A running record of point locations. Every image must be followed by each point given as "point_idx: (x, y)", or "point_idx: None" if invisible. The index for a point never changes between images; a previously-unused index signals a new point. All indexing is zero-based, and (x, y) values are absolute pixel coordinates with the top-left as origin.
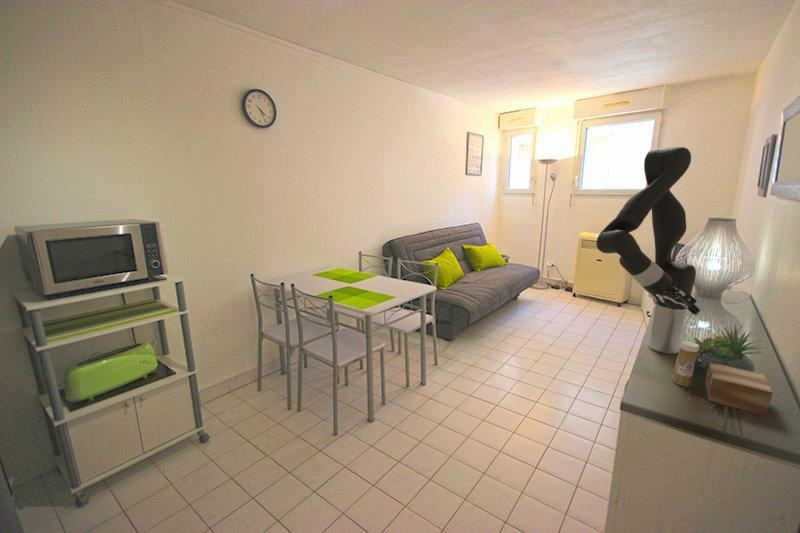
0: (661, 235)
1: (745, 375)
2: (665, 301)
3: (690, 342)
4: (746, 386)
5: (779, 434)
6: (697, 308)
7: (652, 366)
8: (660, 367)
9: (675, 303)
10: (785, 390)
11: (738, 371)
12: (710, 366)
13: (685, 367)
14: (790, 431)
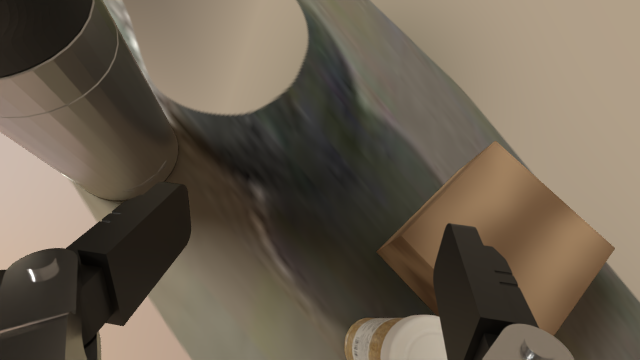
0: None
1: (505, 211)
2: (98, 319)
3: (424, 344)
4: (581, 295)
5: (629, 322)
6: (510, 280)
7: (236, 341)
8: (251, 312)
9: (167, 205)
10: (433, 72)
11: (476, 202)
12: (433, 269)
13: None
14: (612, 275)
